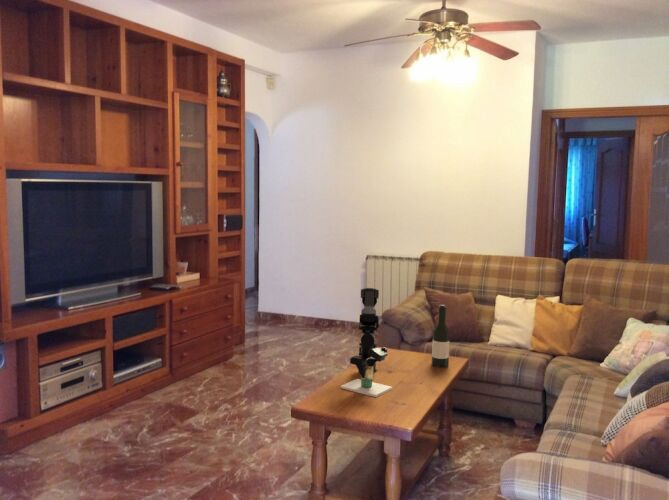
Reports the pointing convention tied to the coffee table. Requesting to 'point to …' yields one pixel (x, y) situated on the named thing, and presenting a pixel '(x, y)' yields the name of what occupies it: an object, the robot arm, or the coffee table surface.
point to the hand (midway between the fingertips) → (366, 376)
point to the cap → (369, 372)
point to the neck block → (366, 387)
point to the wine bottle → (441, 341)
